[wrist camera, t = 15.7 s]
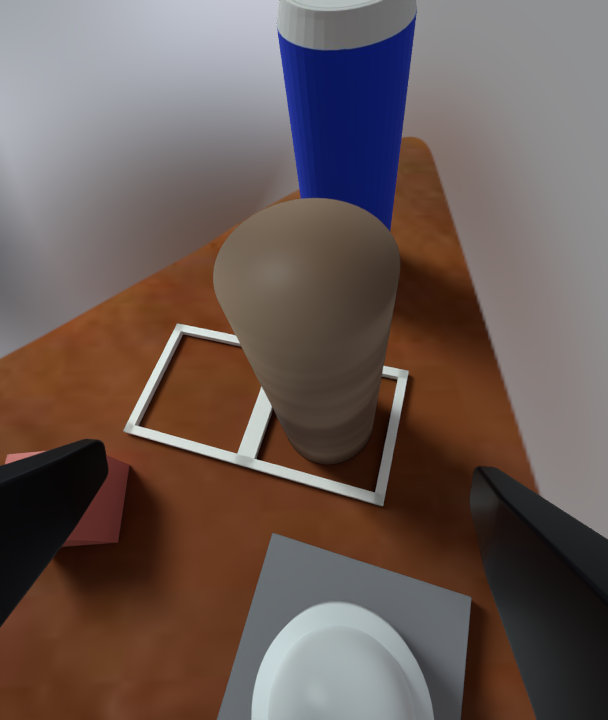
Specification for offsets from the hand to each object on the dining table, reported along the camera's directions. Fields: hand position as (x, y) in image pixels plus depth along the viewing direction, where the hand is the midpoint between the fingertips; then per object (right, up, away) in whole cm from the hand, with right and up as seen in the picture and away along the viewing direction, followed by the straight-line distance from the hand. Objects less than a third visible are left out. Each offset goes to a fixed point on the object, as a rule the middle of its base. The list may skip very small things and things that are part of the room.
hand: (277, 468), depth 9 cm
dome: (+2, -10, +6) cm, 12 cm away
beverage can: (+4, +9, +18) cm, 20 cm away
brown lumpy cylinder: (+2, -1, +13) cm, 13 cm away
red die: (-11, -5, +12) cm, 17 cm away
